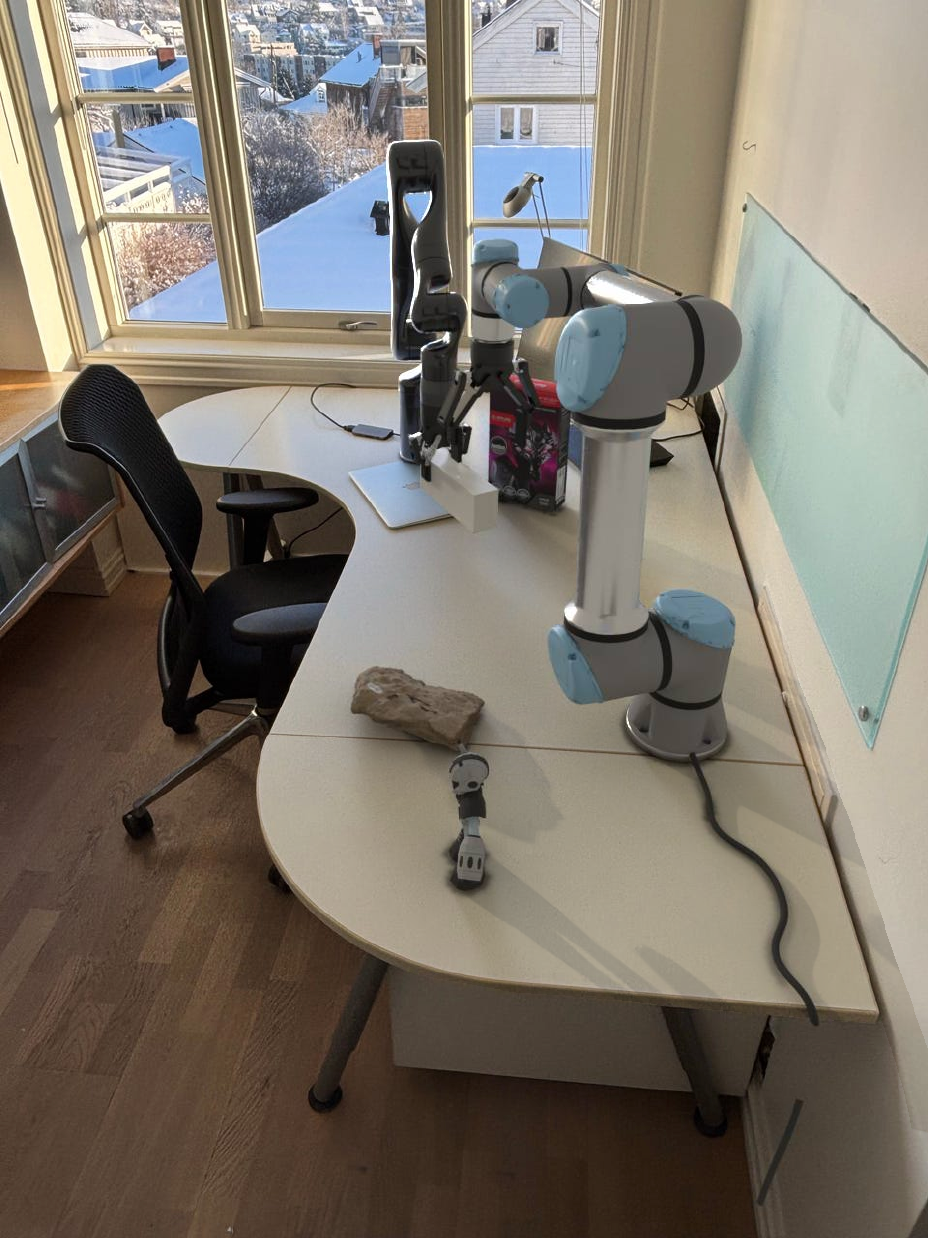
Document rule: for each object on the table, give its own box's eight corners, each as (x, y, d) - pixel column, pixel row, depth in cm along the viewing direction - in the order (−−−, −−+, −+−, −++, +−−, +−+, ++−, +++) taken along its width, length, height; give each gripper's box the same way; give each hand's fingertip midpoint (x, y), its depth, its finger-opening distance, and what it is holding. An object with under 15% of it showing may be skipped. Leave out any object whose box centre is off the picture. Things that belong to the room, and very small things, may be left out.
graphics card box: (485, 497, 209) (487, 380, 194) (498, 486, 214) (502, 371, 199) (554, 514, 203) (562, 394, 188) (566, 502, 208) (575, 384, 193)
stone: (324, 722, 139) (331, 687, 137) (361, 683, 152) (368, 651, 150) (454, 769, 135) (464, 735, 133) (480, 725, 149) (489, 694, 147)
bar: (497, 527, 179) (498, 489, 175) (473, 533, 177) (474, 495, 172) (442, 483, 195) (442, 447, 190) (420, 488, 193) (419, 452, 188)
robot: (491, 927, 112) (496, 809, 101) (451, 928, 112) (451, 811, 101) (481, 809, 129) (484, 697, 117) (446, 811, 128) (445, 698, 117)
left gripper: (461, 385, 185) (461, 463, 195) (397, 398, 179) (400, 477, 189) (480, 397, 180) (479, 477, 189) (415, 411, 174) (417, 492, 184)
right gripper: (541, 320, 164) (534, 431, 176) (417, 341, 154) (418, 458, 166) (565, 332, 159) (556, 446, 171) (438, 355, 149) (438, 474, 161)
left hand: (439, 477), depth 189 cm, fingers closed on bar, 5 cm apart
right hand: (488, 452), depth 169 cm, fingers open, 13 cm apart
